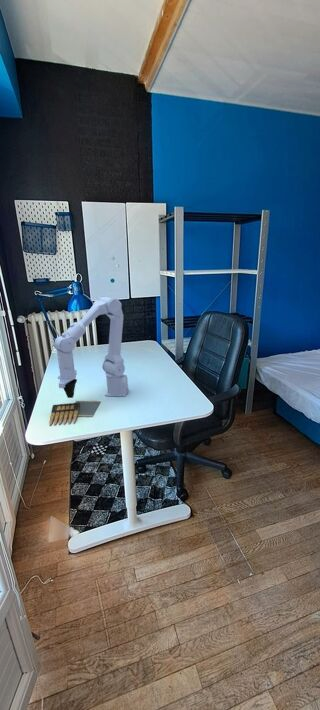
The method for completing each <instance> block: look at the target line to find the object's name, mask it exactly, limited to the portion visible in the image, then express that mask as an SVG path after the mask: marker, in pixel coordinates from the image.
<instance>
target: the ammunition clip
mask: <svg viewBox="0 0 320 710" xmlns="http://www.w3.org/2000/svg"><path fill="white" fill-rule="evenodd" d="M79 408H80V403H75V402H70V403H60V404H58V403H57V404H53V405H52V407H51V411H50V416H49V424H48V425H49V426H52V424H54V426H56V425H57V423H58V424H59V426H60V425H61V424H62V423H63V425H65V424H66V423H67V422H68V424H71V423H72V422H73V424H75V423H76V422H77V418H78V417H77V416H78V412H79ZM69 411H70V412H69ZM73 414H74V415H73ZM68 416H69V417H68Z"/></svg>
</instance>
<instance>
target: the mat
mask: <svg viewBox="0 0 320 710" xmlns="http://www.w3.org/2000/svg"><path fill="white" fill-rule="evenodd" d="M74 403H80V408H79V412H78V416H77V418H93V417H94V415H95V413H96V411H97V409H98V408H99V406H100V404H101V400H75V402H74ZM69 412H70V411H69ZM73 415H74V414H73ZM68 418H69V416H68Z"/></svg>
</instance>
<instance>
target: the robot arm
mask: <svg viewBox="0 0 320 710" xmlns="http://www.w3.org/2000/svg"><path fill="white" fill-rule="evenodd" d="M100 315H106V316H107V317H108V318H109V319H110V324H109V334H108V335H109V336H108V350H107V354H106V355H105V356H104V359H103V360H104V361H103V362H102V370H103V371H104V372H105V376H106V389H107V391H106V392H105V394H104V396H105V397H126V396H127V393H128V391H129V383H128V382H129V381H128V375H127V374H124V373H125V370H126V367H125V361H124V357H122V355H121V349H122V339H123V328H124V325H123V324H124V313H123V310H122V302H121V301H120V300H119V299H118V298H117V297H109V296H99V297H98V298H97V299H96V300H95V301H94V302H93V303H92V306H91V307H90V309H88V310H87V312H86V313H85V314H84V315H83V317H82V318H80V320H78V322H77V321H75V322H72V323H70V324H69V327H68V328H67V329H66V331H64V332H62V333H61V336H58V337H56V338H55V339H54V342H53V344H52V345H53V348H54V349H56V354H57V361H58V369H59V375H58V376H57V379H58V380H59V383H58V388H59V389H63V390H64V392H65V395H66V397H67V399H73V398H74V396H75V388H76V383H77V382H78V379H77V370H76V368H75V364H74V363H75V362H74V354H73V350H74V349H75V345H76V343H77V342H78V341H79V339H81V337H83V335H84V334H85V333H86V328H87V327H88V326H89V325H90V324H91V323H92V322H93V321H95V319H96V318H97V317H99V316H100Z"/></svg>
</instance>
